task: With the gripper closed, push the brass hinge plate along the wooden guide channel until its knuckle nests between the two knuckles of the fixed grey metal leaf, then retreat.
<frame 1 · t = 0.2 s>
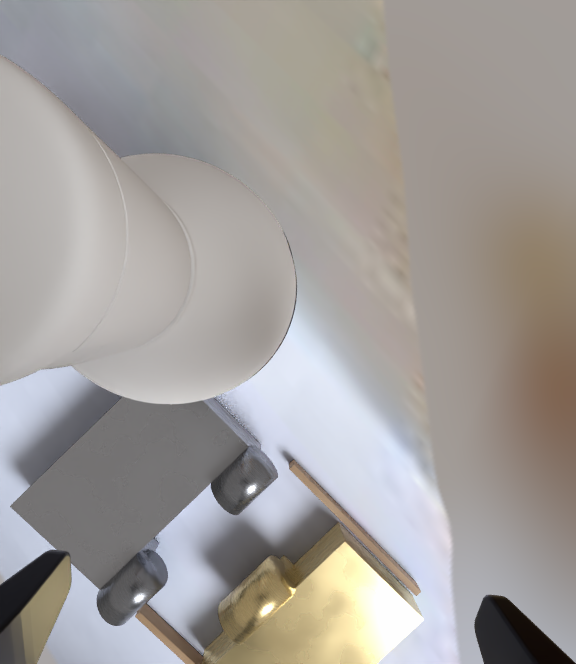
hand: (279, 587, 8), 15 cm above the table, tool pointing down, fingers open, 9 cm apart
guide rails: (279, 594, 24), on the table
fixed leaf: (142, 461, 23), on the table
brass hinge plate: (308, 621, 24), on the table
bath foam: (230, 298, 23), on the table
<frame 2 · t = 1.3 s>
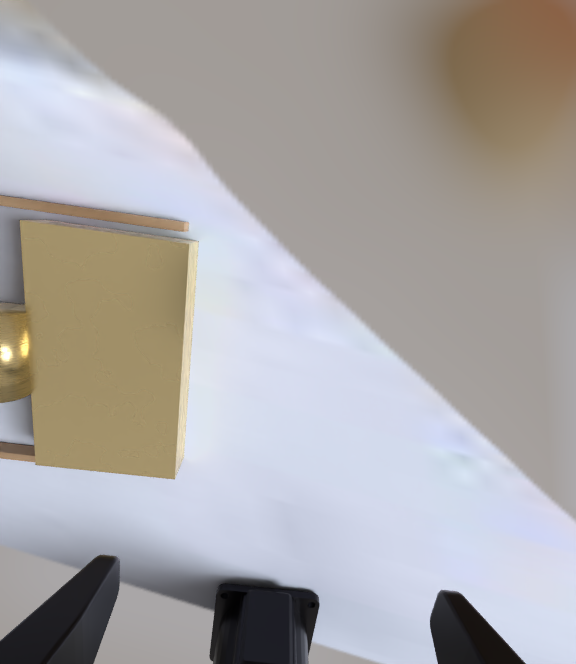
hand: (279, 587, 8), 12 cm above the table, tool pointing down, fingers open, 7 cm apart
guide rails: (67, 343, 19), on the table
brass hinge plate: (123, 349, 19), on the table
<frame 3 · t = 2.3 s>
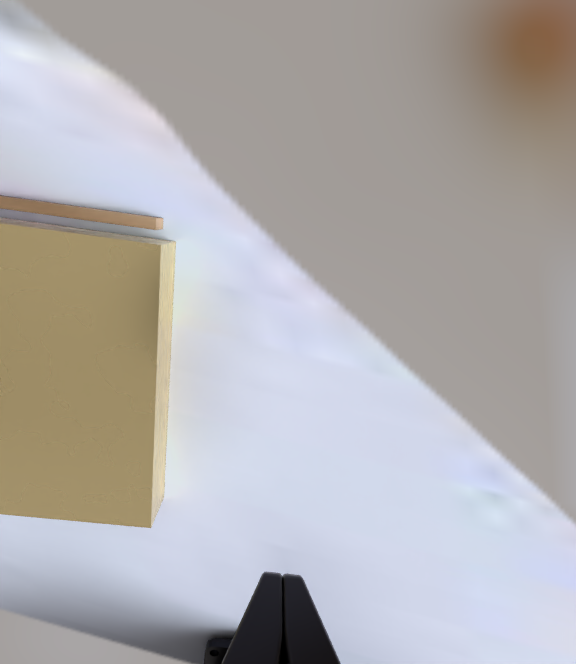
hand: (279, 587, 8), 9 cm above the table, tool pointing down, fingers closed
guide rails: (20, 365, 16), on the table
brass hinge plate: (88, 372, 16), on the table
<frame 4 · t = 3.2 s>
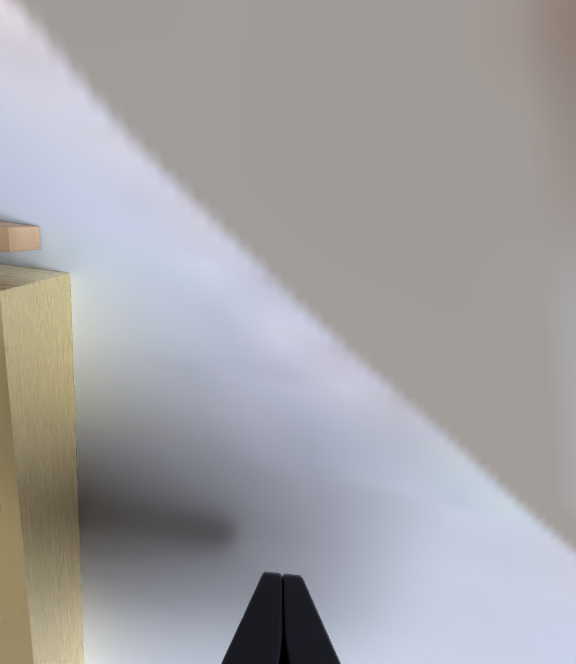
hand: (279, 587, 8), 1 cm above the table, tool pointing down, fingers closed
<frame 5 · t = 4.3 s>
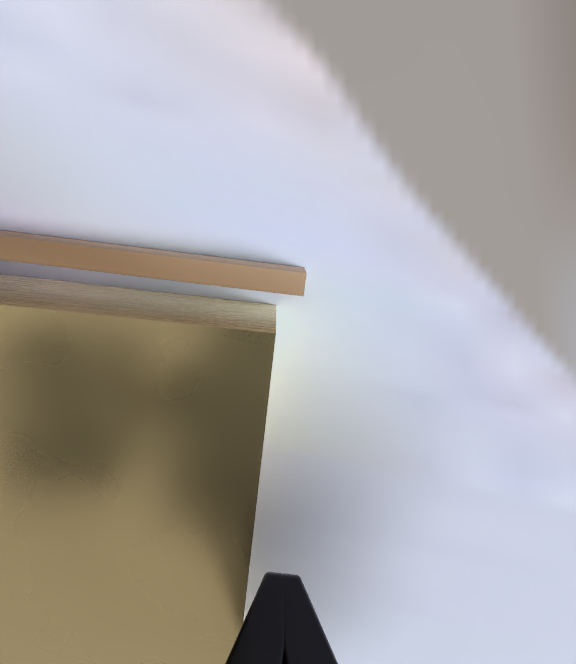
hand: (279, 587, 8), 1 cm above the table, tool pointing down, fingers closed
guide rails: (25, 525, 9), on the table
brass hinge plate: (104, 530, 9), on the table, touching gripper
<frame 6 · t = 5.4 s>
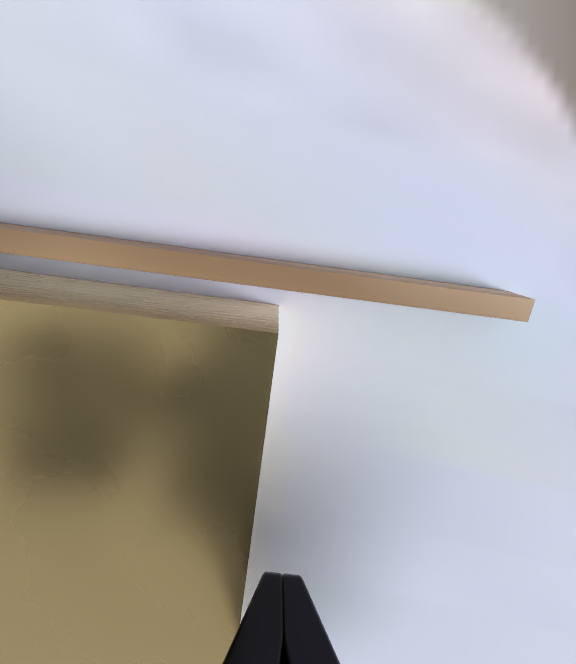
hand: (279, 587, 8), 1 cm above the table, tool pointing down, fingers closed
guide rails: (190, 538, 9), on the table
brass hinge plate: (102, 527, 9), on the table
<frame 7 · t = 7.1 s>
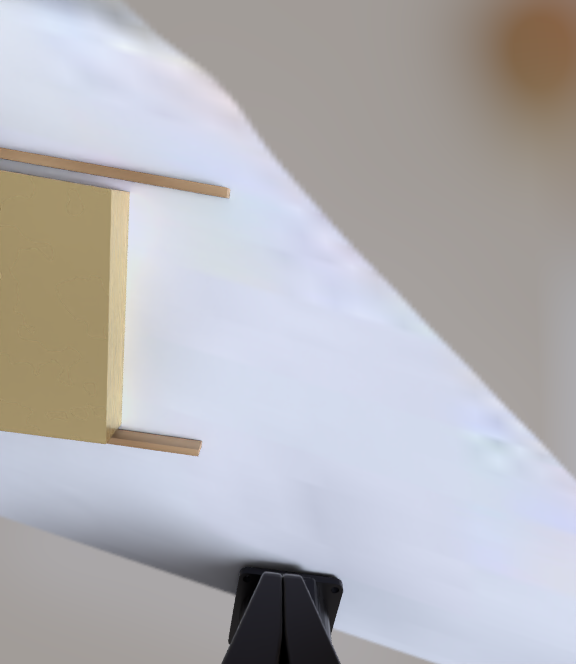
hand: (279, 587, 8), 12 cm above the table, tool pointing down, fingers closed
guide rails: (98, 313, 18), on the table
brass hinge plate: (54, 307, 18), on the table
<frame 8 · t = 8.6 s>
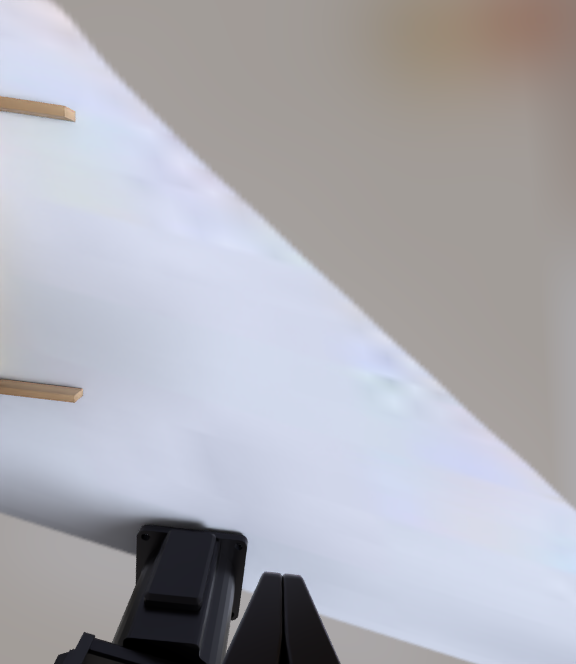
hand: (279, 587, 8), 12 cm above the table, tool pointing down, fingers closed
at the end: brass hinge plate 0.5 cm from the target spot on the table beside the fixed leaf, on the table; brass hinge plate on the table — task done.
